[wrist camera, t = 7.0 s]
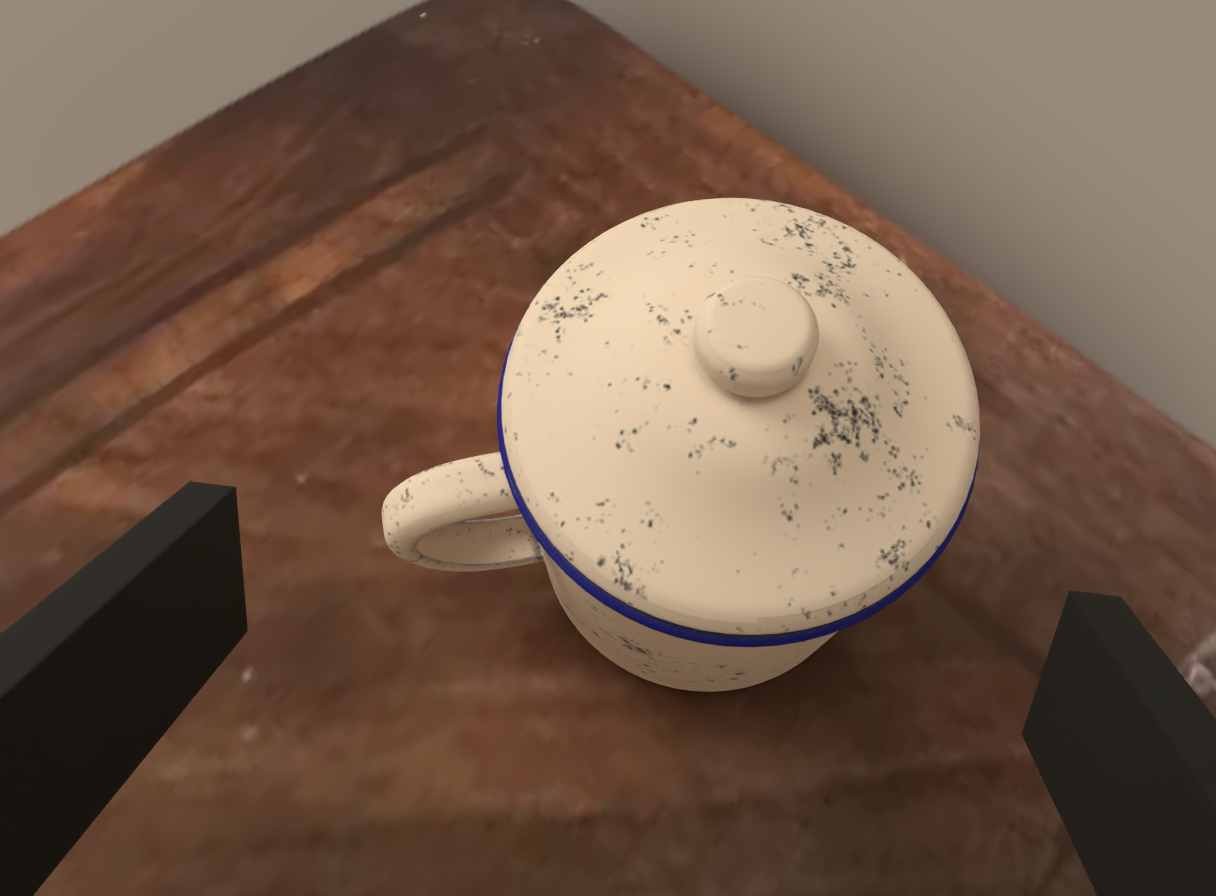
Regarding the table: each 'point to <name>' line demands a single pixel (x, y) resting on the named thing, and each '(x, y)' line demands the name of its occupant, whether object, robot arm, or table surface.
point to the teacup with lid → (715, 442)
